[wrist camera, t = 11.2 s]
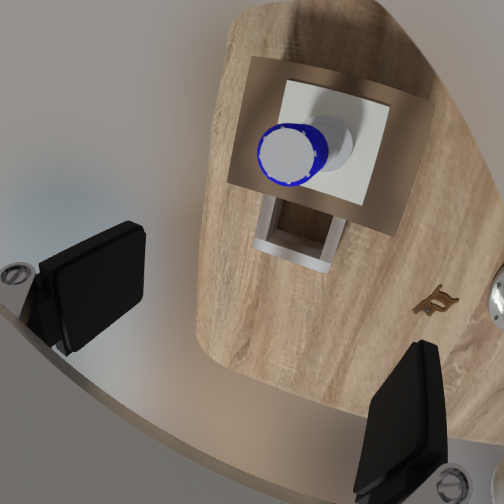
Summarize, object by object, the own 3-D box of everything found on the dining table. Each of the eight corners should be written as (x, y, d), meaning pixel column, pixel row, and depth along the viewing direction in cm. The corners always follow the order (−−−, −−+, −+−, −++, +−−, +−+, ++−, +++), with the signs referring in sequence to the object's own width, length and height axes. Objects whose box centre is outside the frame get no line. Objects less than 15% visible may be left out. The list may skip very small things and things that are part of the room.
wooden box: (420, 109, 30) (435, 103, 22) (367, 270, 40) (365, 305, 33) (277, 69, 34) (251, 56, 27) (243, 227, 45) (215, 251, 37)
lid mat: (389, 107, 24) (389, 107, 24) (362, 204, 29) (361, 205, 29) (287, 80, 27) (287, 79, 26) (267, 174, 31) (266, 175, 31)
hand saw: (350, 383, 49) (349, 386, 49) (332, 370, 50) (331, 372, 49) (460, 299, 37) (461, 301, 36) (442, 280, 37) (443, 282, 37)
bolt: (304, 168, 29) (299, 118, 28) (356, 167, 27) (351, 114, 26) (243, 208, 16) (231, 110, 14) (343, 206, 14) (333, 98, 12)
